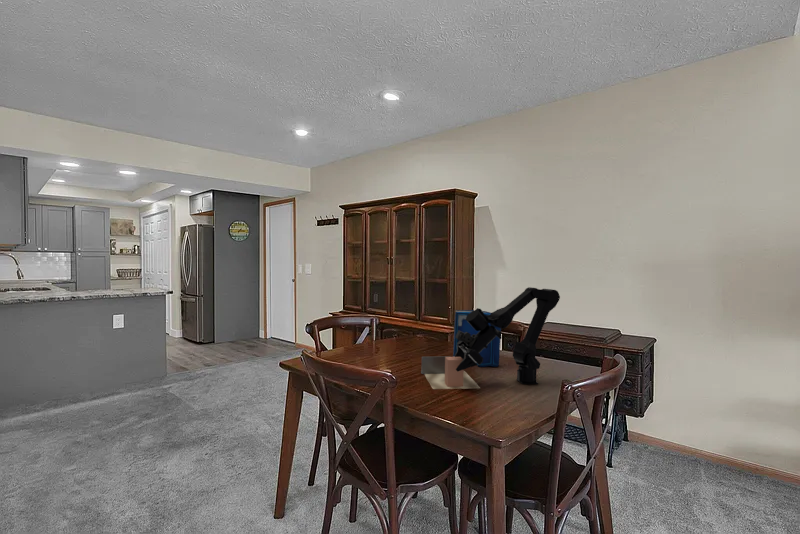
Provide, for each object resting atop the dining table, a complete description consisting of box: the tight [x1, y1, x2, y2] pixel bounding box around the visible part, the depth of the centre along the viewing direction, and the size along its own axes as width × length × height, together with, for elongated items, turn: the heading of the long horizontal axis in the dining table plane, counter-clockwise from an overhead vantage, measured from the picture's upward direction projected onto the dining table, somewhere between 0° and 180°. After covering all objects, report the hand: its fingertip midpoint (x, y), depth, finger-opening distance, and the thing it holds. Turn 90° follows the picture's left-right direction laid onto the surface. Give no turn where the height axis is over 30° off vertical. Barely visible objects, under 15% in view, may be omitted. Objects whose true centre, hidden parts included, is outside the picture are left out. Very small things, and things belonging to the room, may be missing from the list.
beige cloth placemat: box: [424, 370, 481, 390], centre depth 168 cm, size 18×24×1 cm
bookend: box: [420, 355, 451, 375], centre depth 177 cm, size 12×3×7 cm, turn 96°
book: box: [452, 309, 502, 368], centre depth 194 cm, size 22×7×25 cm, turn 84°
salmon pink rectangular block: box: [445, 356, 465, 387], centre depth 161 cm, size 6×5×10 cm
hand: (453, 367), depth 161 cm, fingers open, 9 cm apart
